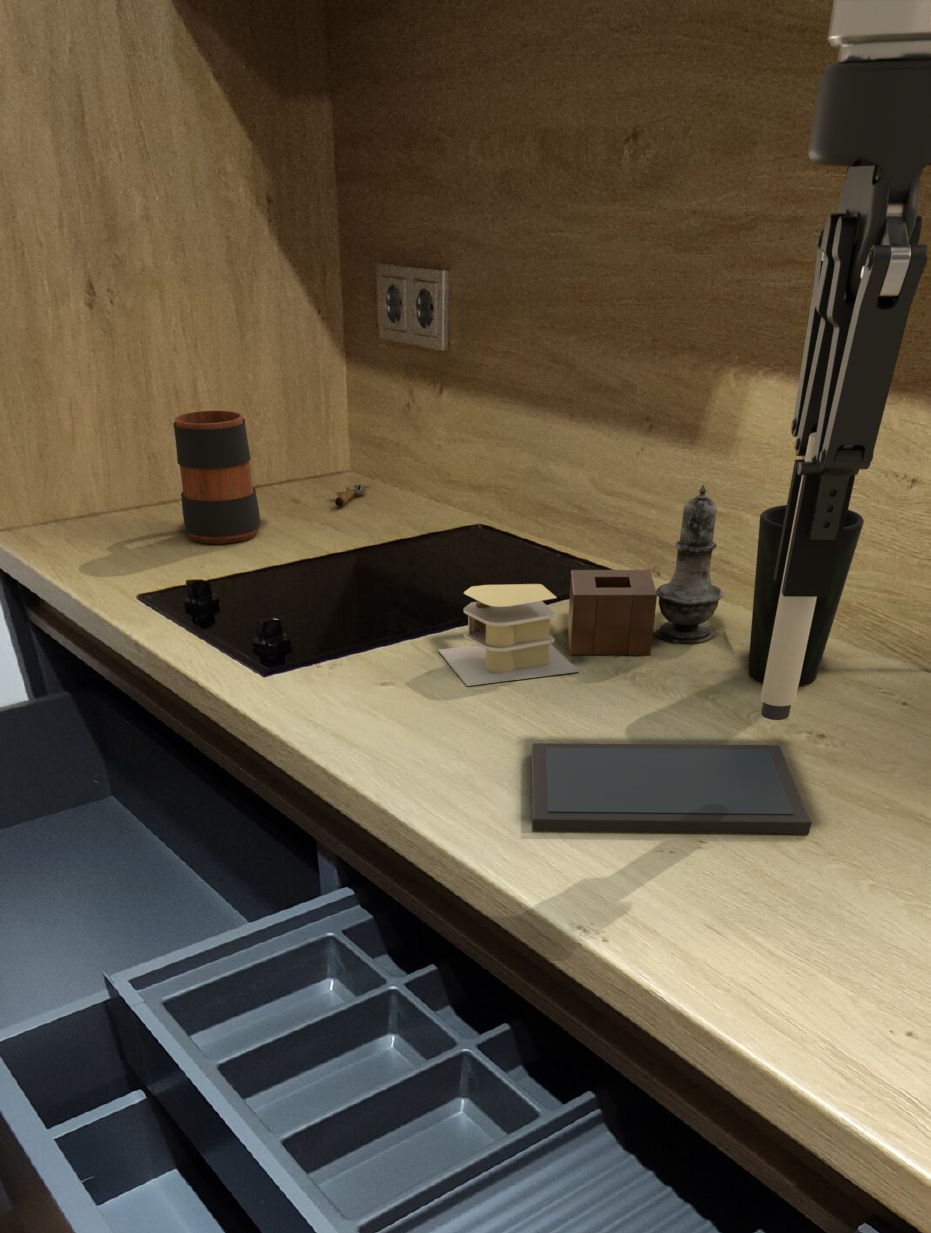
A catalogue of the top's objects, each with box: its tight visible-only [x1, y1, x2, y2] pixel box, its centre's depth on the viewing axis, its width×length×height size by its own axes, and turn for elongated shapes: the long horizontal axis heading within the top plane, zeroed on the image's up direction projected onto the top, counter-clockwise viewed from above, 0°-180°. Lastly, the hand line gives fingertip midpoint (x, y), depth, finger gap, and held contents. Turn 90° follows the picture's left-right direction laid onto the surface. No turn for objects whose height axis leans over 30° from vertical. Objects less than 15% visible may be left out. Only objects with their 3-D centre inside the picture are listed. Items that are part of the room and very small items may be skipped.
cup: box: [747, 504, 865, 688], centre depth 89 cm, size 8×8×12 cm
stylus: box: [760, 432, 817, 721], centre depth 68 cm, size 2×2×16 cm
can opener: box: [334, 482, 368, 508], centre depth 138 cm, size 9×2×1 cm, turn 160°
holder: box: [567, 569, 658, 656], centre depth 98 cm, size 7×7×5 cm
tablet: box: [530, 742, 812, 835], centre depth 77 cm, size 18×12×1 cm, turn 86°
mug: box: [172, 410, 261, 545], centre depth 125 cm, size 9×12×12 cm
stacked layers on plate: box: [437, 583, 580, 687], centre depth 94 cm, size 10×9×6 cm
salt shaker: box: [654, 484, 724, 645], centre depth 96 cm, size 6×6×12 cm
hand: (801, 586), depth 68 cm, fingers closed on stylus, 2 cm apart
